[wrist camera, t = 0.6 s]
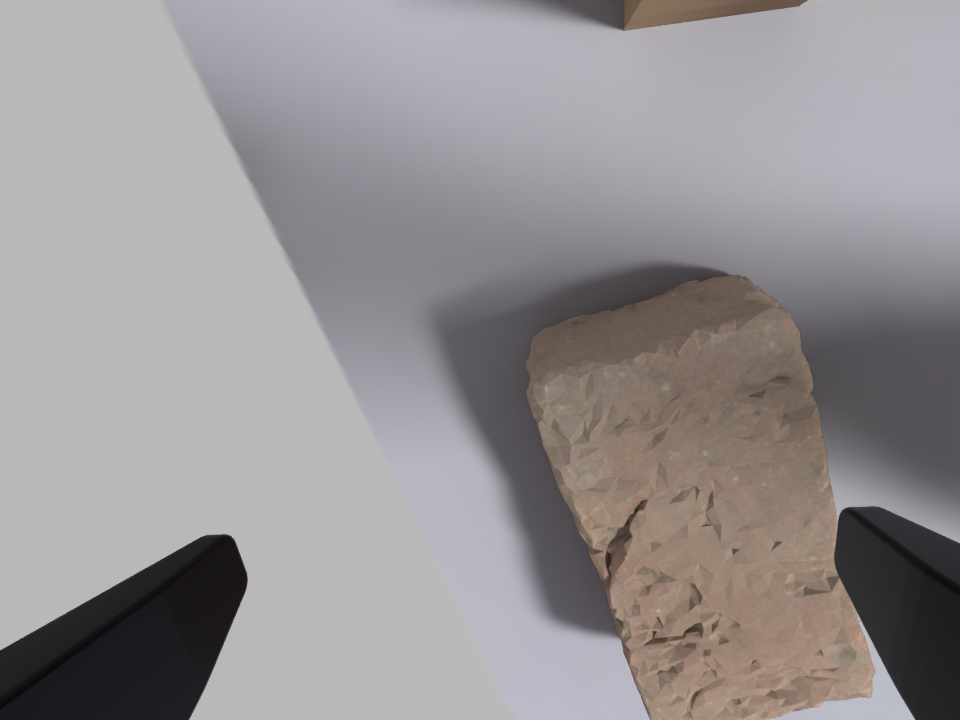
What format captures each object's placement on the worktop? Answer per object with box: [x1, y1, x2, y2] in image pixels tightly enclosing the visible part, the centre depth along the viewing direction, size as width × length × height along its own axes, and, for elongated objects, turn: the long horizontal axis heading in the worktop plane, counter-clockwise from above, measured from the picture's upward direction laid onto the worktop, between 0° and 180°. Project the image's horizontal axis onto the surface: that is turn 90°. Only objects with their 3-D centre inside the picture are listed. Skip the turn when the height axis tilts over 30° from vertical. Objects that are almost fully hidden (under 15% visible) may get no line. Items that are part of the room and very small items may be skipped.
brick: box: [526, 275, 875, 720], centre depth 19 cm, size 17×8×5 cm, turn 22°
